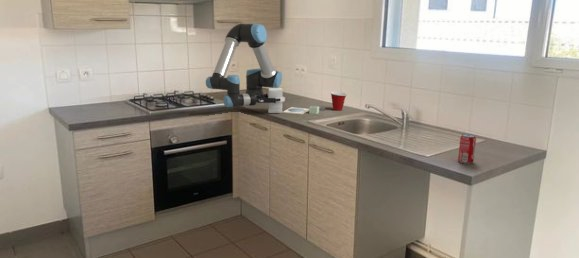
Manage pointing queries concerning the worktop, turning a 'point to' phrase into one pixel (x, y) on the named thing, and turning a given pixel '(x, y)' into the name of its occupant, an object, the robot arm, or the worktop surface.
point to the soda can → (467, 148)
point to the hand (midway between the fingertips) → (280, 97)
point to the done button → (314, 109)
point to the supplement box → (278, 105)
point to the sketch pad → (296, 110)
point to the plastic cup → (338, 100)
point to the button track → (321, 109)
